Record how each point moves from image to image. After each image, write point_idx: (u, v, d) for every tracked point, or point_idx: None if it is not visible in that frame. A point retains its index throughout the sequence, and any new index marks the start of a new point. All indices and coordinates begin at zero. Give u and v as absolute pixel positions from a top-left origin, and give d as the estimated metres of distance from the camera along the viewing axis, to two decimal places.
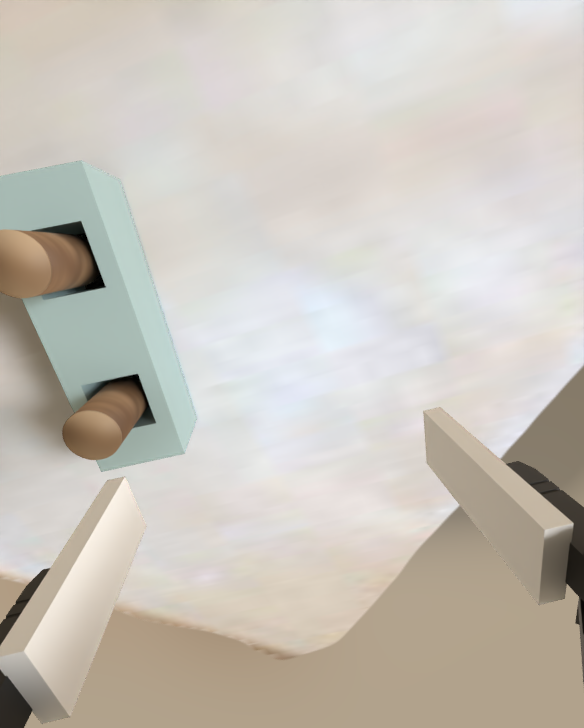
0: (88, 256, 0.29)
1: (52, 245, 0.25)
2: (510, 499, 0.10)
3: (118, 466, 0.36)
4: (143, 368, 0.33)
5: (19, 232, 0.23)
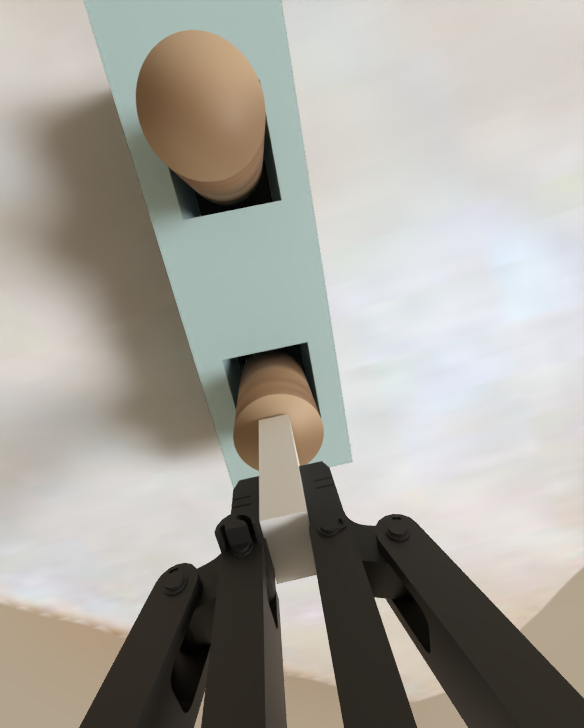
0: None
1: None
2: None
3: None
4: (316, 334, 0.22)
5: (220, 39, 0.12)
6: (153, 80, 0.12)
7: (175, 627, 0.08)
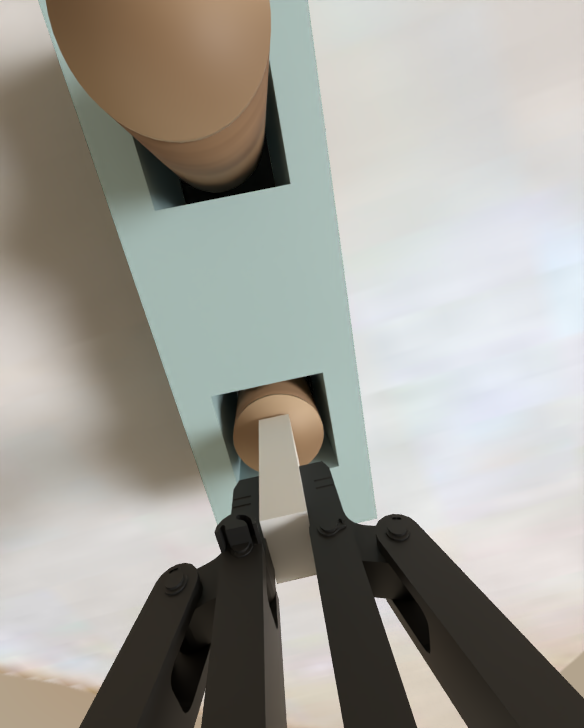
0: None
1: None
2: None
3: None
4: (335, 362, 0.17)
5: None
6: None
7: (175, 627, 0.08)
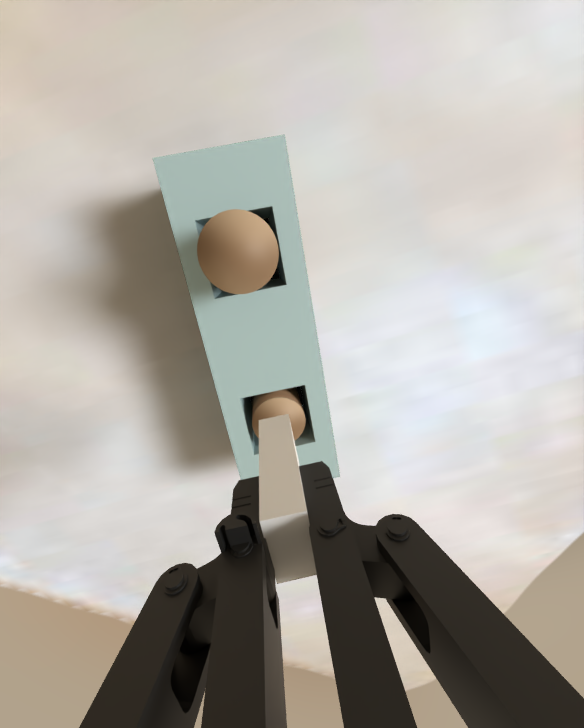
0: None
1: None
2: None
3: None
4: (312, 379, 0.29)
5: (251, 213, 0.19)
6: (208, 236, 0.19)
7: (175, 627, 0.08)
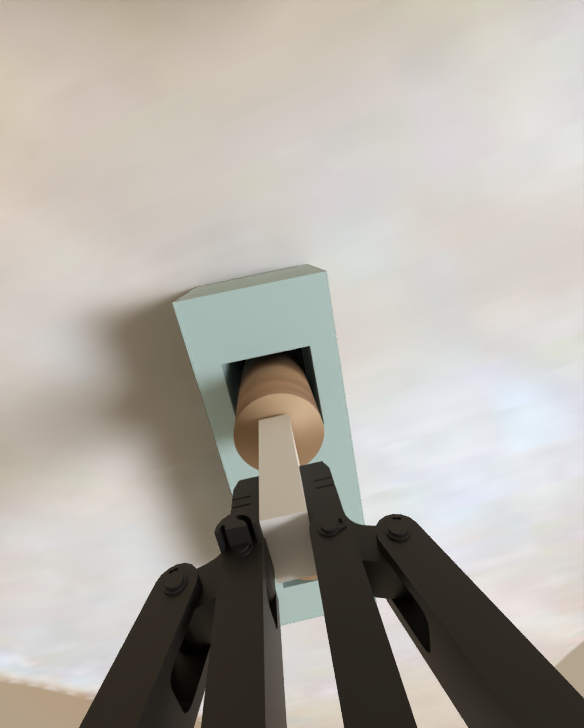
0: None
1: (312, 397, 0.18)
2: None
3: (294, 620, 0.29)
4: (349, 513, 0.26)
5: (295, 396, 0.17)
6: (246, 419, 0.17)
7: (175, 627, 0.08)
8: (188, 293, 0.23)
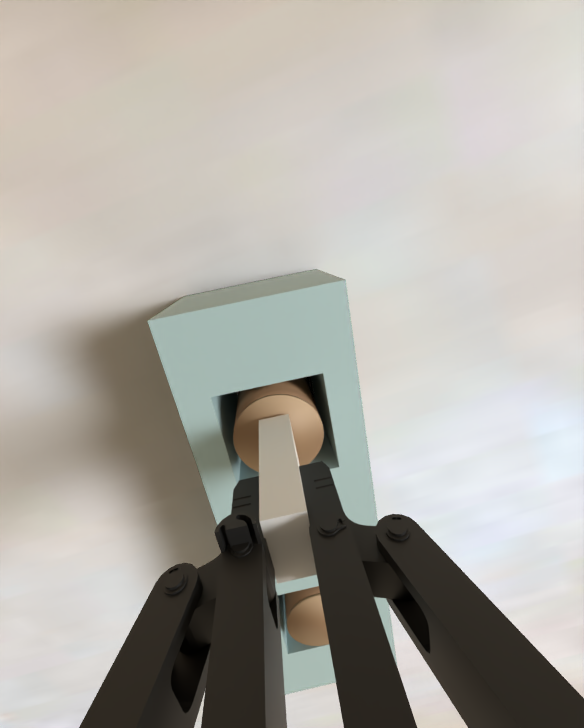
0: None
1: (311, 399, 0.18)
2: None
3: (301, 688, 0.24)
4: None
5: (294, 398, 0.17)
6: (245, 420, 0.17)
7: (175, 627, 0.08)
8: (172, 306, 0.19)
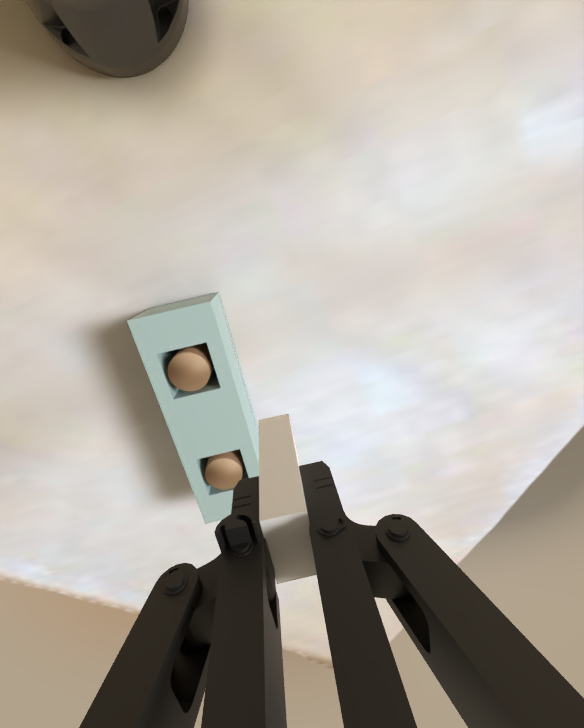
0: None
1: (207, 356, 0.39)
2: None
3: (218, 519, 0.45)
4: (244, 445, 0.42)
5: (194, 353, 0.37)
6: (173, 364, 0.38)
7: (175, 627, 0.08)
8: (140, 313, 0.39)
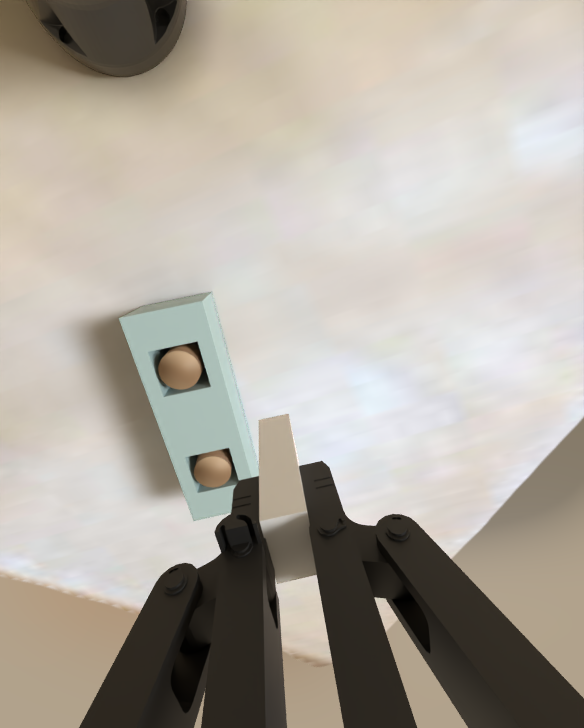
0: None
1: (198, 355, 0.39)
2: None
3: (207, 516, 0.45)
4: (233, 443, 0.42)
5: (185, 352, 0.38)
6: (164, 363, 0.38)
7: (175, 627, 0.08)
8: (132, 311, 0.40)
